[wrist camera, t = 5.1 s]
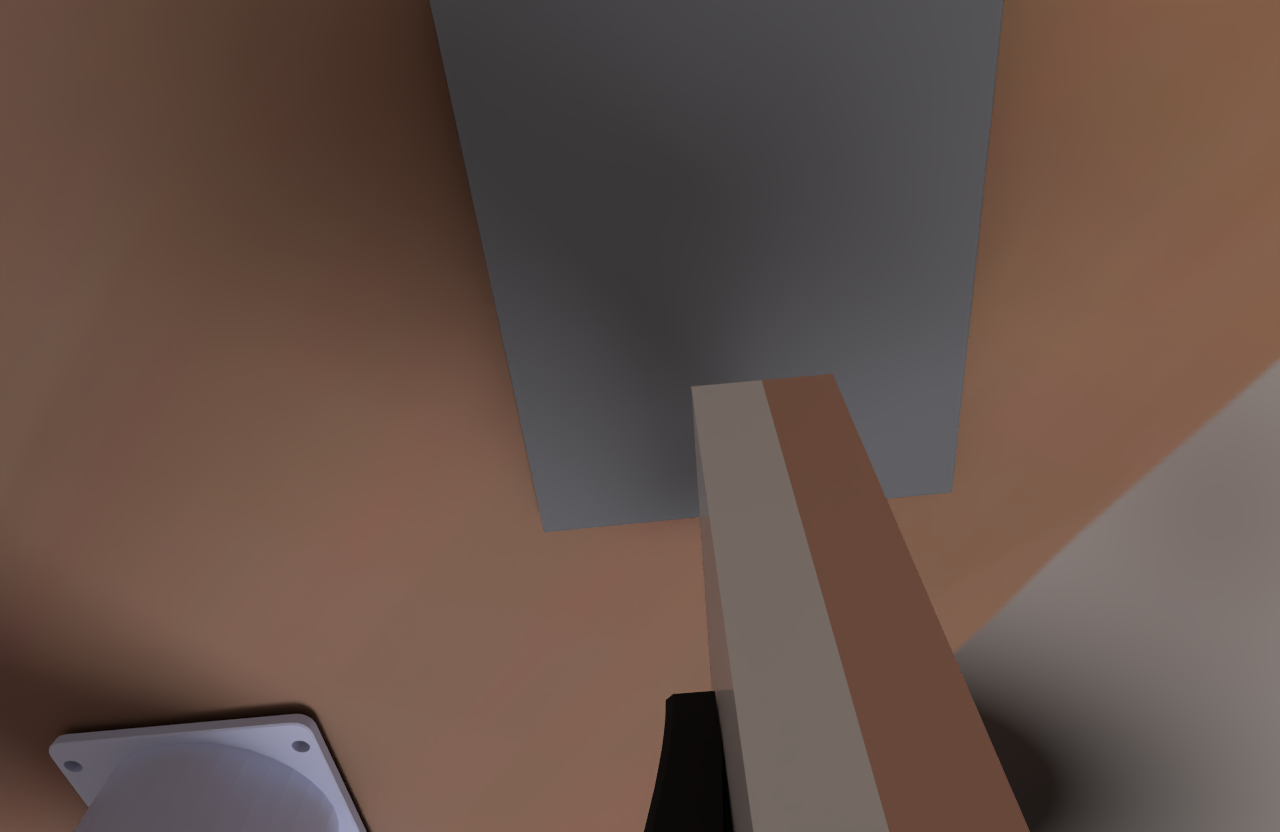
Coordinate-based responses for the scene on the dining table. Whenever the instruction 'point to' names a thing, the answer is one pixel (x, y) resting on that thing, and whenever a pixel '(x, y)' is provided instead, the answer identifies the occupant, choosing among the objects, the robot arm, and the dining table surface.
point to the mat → (722, 222)
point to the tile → (827, 632)
